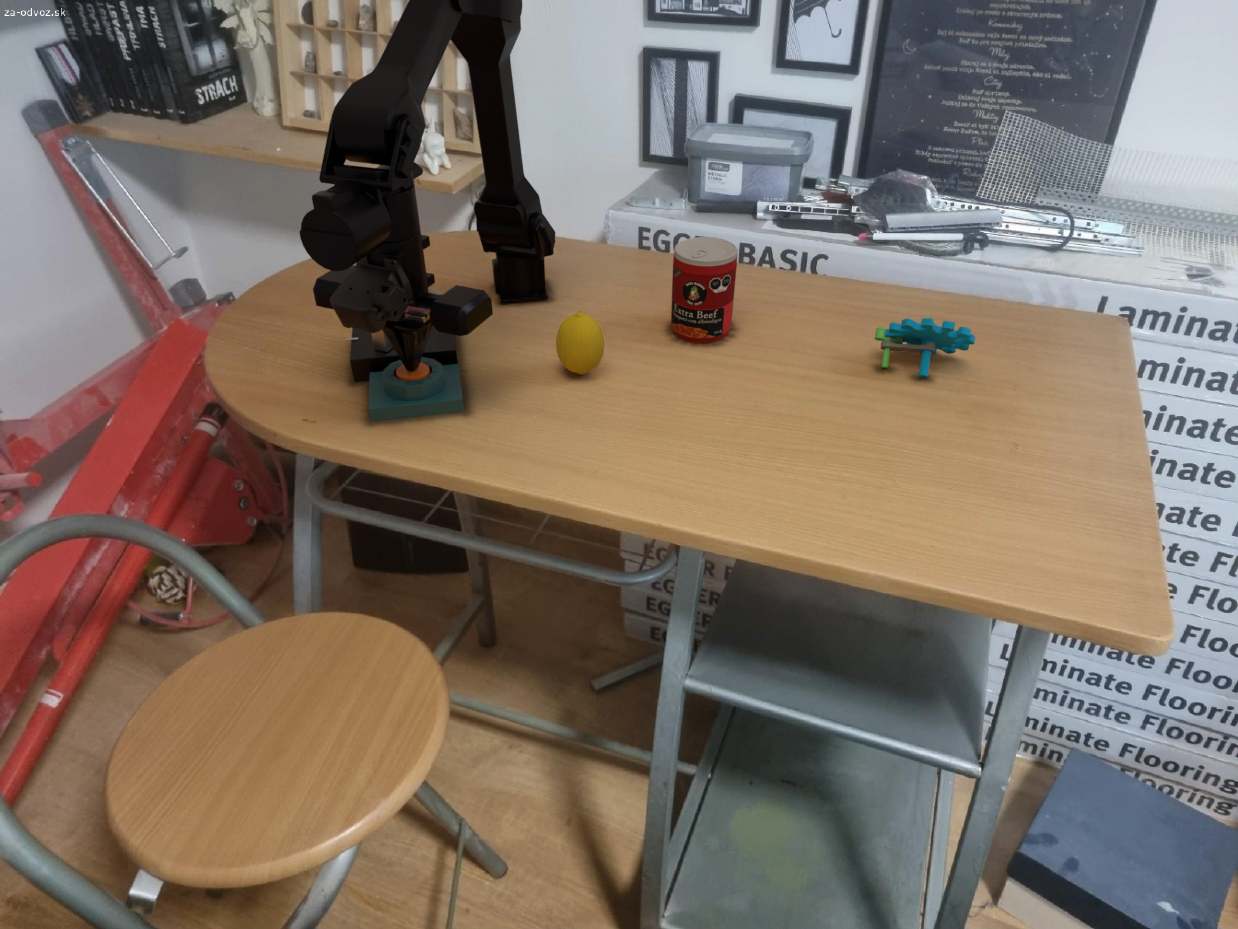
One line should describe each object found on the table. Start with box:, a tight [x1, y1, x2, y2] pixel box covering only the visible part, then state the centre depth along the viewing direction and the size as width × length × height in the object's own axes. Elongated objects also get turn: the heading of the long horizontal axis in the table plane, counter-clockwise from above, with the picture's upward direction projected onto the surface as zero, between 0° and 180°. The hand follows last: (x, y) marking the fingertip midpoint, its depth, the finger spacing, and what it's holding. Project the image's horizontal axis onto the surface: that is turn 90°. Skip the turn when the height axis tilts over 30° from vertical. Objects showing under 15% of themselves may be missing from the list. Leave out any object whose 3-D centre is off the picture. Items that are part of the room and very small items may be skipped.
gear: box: [874, 317, 976, 379], centre depth 102 cm, size 11×6×10 cm
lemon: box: [555, 311, 605, 376], centre depth 100 cm, size 6×6×8 cm
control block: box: [367, 357, 465, 423], centre depth 97 cm, size 10×8×4 cm
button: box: [396, 362, 430, 381], centre depth 96 cm, size 4×4×2 cm
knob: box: [371, 330, 394, 352], centre depth 103 cm, size 9×2×5 cm, turn 157°
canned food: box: [670, 236, 739, 344], centre depth 109 cm, size 8×8×11 cm
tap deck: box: [345, 327, 459, 383], centre depth 105 cm, size 13×13×3 cm
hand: (412, 369), depth 96 cm, fingers closed, pressing on button
